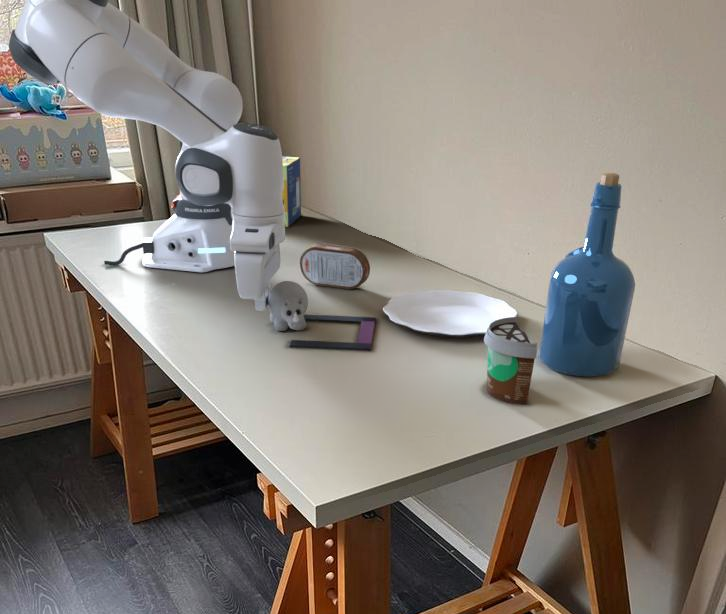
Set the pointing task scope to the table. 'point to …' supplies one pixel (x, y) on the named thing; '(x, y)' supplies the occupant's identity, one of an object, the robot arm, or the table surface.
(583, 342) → the wine bottle
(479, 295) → the plate
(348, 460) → the table surface
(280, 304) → the toy rhinoceros
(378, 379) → the table surface
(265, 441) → the table surface
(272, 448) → the table surface
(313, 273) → the tin
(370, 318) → the u-shaped frame
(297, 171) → the protein box
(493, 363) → the food container
